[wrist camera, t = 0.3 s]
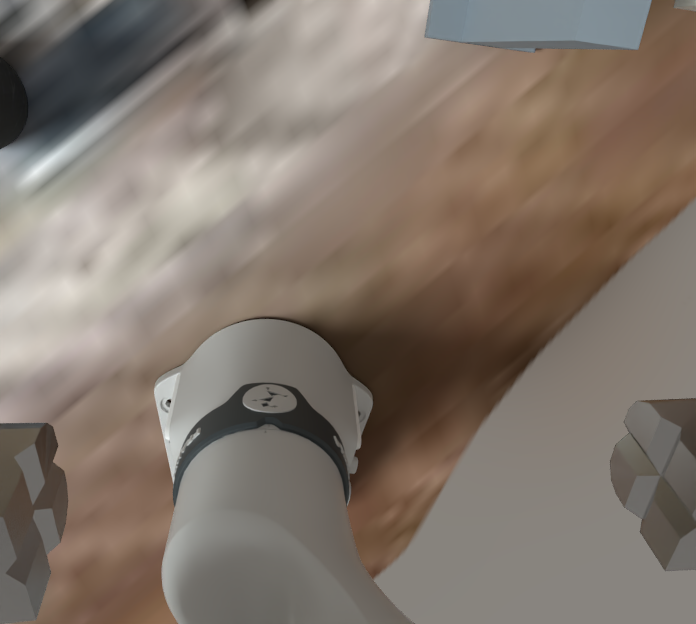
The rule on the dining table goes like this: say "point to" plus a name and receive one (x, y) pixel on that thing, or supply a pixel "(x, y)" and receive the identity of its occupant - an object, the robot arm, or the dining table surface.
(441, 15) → the panel
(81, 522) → the dining table surface
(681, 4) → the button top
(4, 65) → the travel mug
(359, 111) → the dining table surface
